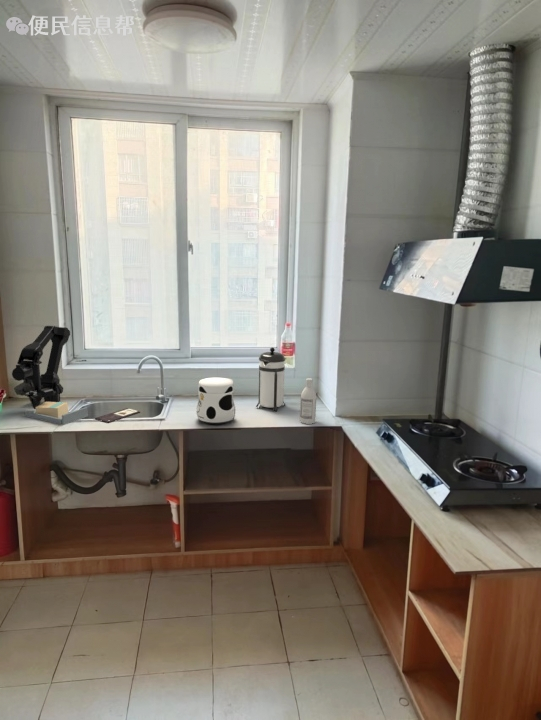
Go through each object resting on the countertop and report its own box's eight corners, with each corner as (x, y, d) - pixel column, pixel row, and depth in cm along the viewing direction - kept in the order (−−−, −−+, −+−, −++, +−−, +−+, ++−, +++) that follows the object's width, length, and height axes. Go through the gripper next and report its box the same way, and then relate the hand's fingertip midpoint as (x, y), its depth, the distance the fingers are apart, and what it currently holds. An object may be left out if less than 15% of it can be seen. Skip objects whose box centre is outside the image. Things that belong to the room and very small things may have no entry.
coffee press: (291, 411, 225) (293, 350, 219) (259, 412, 221) (260, 350, 215) (282, 400, 241) (283, 343, 235) (251, 402, 237) (252, 344, 231)
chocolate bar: (95, 418, 206) (126, 408, 221) (95, 420, 206) (127, 410, 221) (108, 422, 201) (140, 411, 216) (108, 424, 202) (140, 413, 217)
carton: (46, 411, 211) (46, 401, 210) (68, 412, 210) (67, 402, 209) (36, 417, 203) (35, 407, 202) (58, 418, 202) (57, 408, 201)
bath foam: (307, 418, 214) (308, 376, 210) (318, 422, 209) (320, 379, 205) (296, 421, 210) (298, 378, 206) (308, 425, 205) (309, 381, 201)
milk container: (189, 418, 210) (189, 380, 206) (222, 412, 220) (222, 375, 217) (208, 429, 197) (208, 388, 193) (242, 422, 207) (243, 383, 203)
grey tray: (49, 411, 216) (48, 399, 214) (88, 419, 206) (87, 407, 205) (24, 419, 204) (23, 407, 203) (64, 428, 194) (63, 415, 193)
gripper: (2, 376, 204) (5, 410, 207) (31, 381, 196) (34, 417, 199) (24, 371, 214) (27, 404, 217) (53, 376, 206) (56, 410, 209)
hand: (35, 408), depth 210 cm, fingers closed
